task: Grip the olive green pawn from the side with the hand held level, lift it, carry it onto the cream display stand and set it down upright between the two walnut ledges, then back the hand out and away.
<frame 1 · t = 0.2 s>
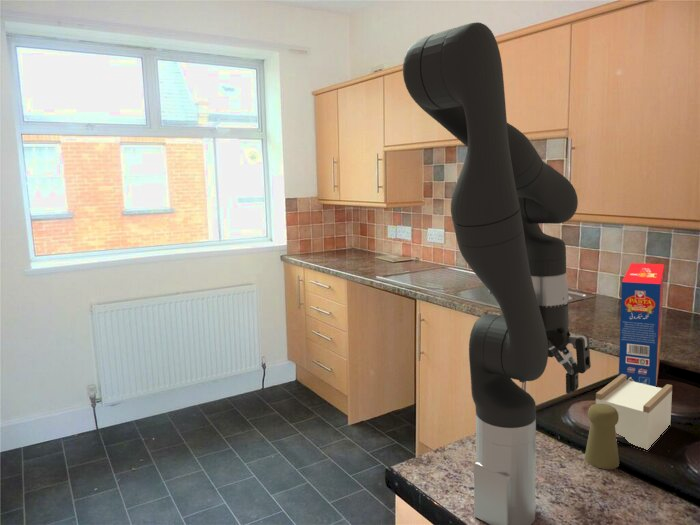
hand: (546, 386, 90), 18 cm above the counter, tool pointing down, fingers open, 8 cm apart
display stand: (632, 430, 108), on the counter
olive green pawn: (601, 461, 98), on the counter
pasta box: (640, 375, 137), on the counter
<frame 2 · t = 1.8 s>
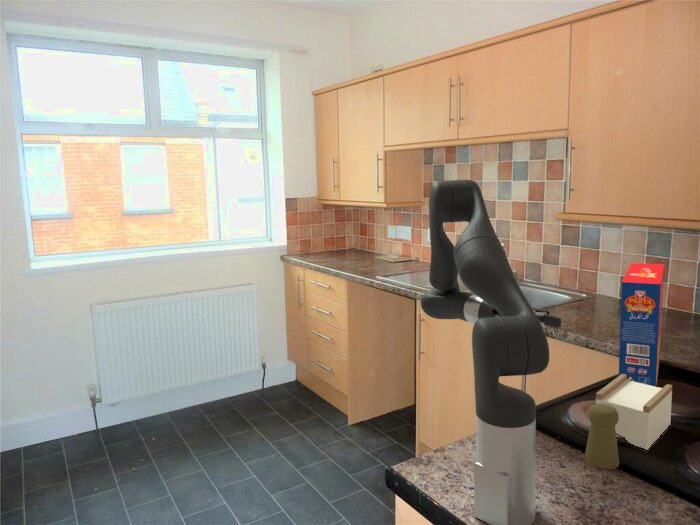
hand: (547, 327, 106), 23 cm above the counter, tool horizontal, fingers open, 8 cm apart
nothing on the counter moved.
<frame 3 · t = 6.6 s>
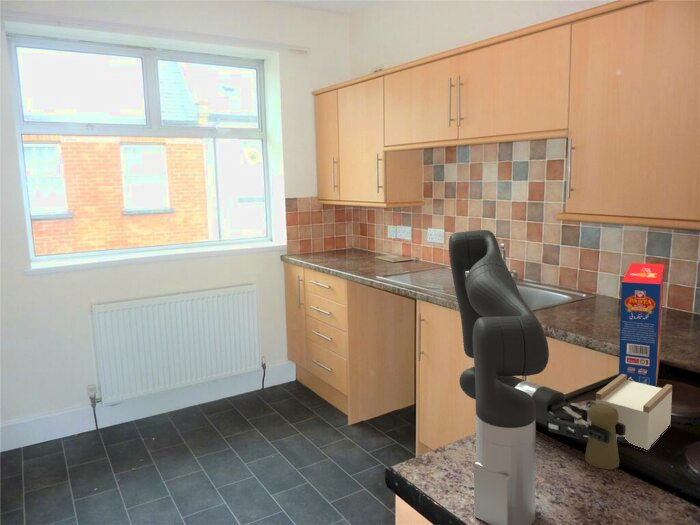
hand: (616, 434, 94), 7 cm above the counter, tool horizontal, fingers closed on olive green pawn, 4 cm apart
olive green pawn: (601, 461, 98), on the counter, touching gripper
everything else where it was.
when the fingers open (16 cm above the counter, at t = 10.6 s): olive green pawn moves 3 cm, point 8 cm above the counter.
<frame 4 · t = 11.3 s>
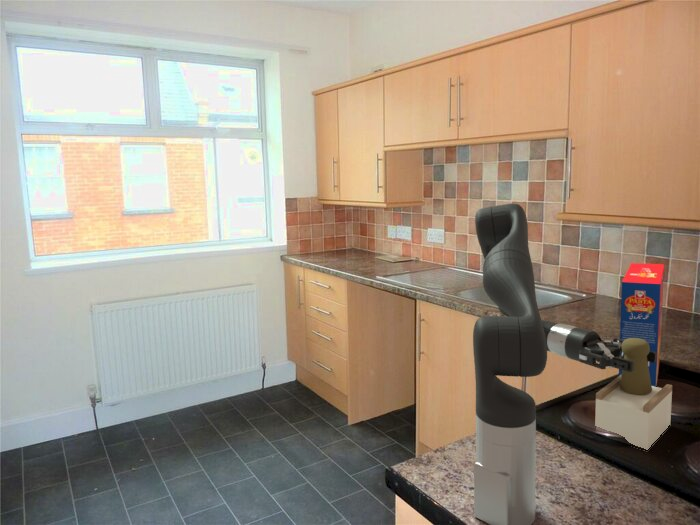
hand: (644, 362, 104), 16 cm above the counter, tool horizontal, fingers open, 8 cm apart
olive green pawn: (635, 388, 109), point 8 cm above the counter, touching gripper
everything else where it was.
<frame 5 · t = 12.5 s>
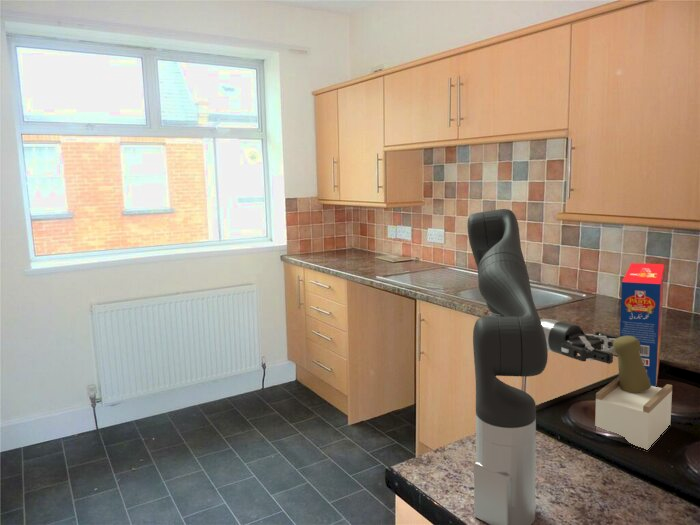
hand: (623, 354, 108), 16 cm above the counter, tool horizontal, fingers open, 8 cm apart
olive green pawn: (635, 386, 109), point 8 cm above the counter, touching display stand
everything else where it was.
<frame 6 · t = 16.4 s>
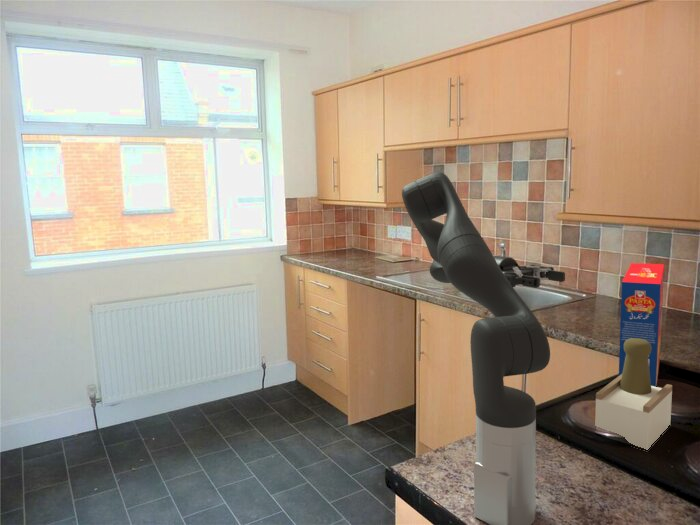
hand: (551, 279, 110), 32 cm above the counter, tool horizontal, fingers open, 8 cm apart
at the end: olive green pawn inside the target area on the display stand (3.3 cm from its centre), point 7.8 cm above the display stand's base; olive green pawn tilted 0°; the gripper is holding nothing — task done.
